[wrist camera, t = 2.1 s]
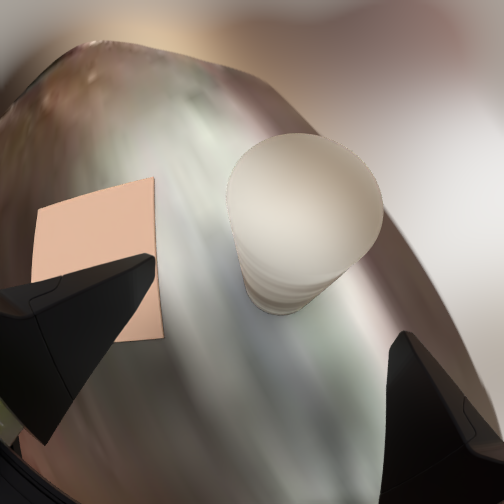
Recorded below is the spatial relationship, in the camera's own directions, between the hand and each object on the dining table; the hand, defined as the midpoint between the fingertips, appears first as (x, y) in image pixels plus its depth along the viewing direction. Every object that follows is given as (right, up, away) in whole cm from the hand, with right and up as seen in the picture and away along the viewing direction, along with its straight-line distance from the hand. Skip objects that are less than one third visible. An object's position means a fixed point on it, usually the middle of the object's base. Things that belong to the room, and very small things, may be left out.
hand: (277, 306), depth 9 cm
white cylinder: (+1, 0, +11) cm, 11 cm away
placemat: (-14, +1, +11) cm, 18 cm away
